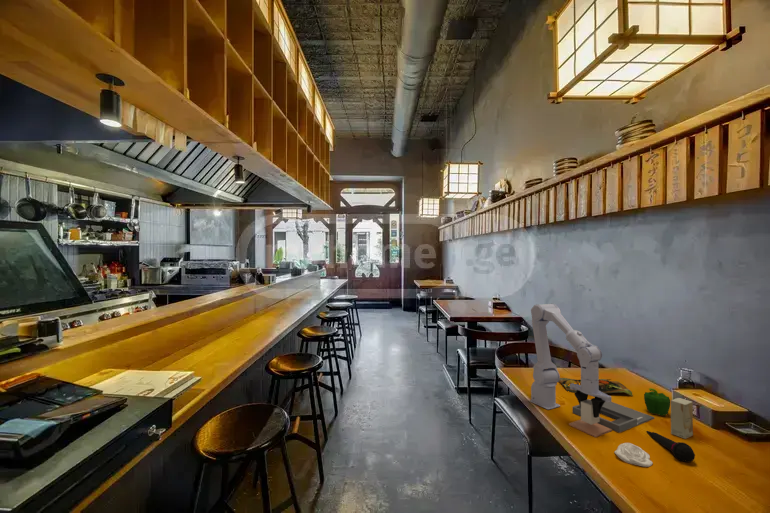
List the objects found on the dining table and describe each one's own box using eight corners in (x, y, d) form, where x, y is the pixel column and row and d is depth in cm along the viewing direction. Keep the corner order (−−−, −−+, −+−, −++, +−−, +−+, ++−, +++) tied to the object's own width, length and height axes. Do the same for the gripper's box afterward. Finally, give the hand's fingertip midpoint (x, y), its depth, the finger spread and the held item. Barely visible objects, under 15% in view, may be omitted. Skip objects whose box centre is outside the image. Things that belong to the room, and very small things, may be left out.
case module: (580, 420, 126) (580, 401, 127) (589, 417, 129) (588, 398, 129) (591, 424, 123) (591, 405, 123) (599, 421, 125) (599, 402, 125)
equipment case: (571, 413, 138) (571, 407, 138) (607, 401, 149) (607, 396, 149) (617, 433, 122) (617, 426, 122) (654, 418, 133) (654, 412, 133)
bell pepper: (671, 413, 138) (670, 388, 138) (670, 420, 132) (669, 394, 132) (645, 407, 144) (645, 383, 144) (643, 413, 138) (642, 389, 138)
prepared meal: (568, 385, 159) (556, 372, 177) (568, 393, 159) (556, 379, 177) (634, 392, 154) (615, 378, 172) (633, 399, 154) (614, 385, 172)
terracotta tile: (569, 425, 128) (569, 423, 128) (585, 419, 132) (585, 417, 132) (595, 437, 119) (595, 435, 119) (611, 430, 123) (611, 429, 123)
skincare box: (685, 439, 117) (685, 404, 118) (670, 434, 121) (670, 400, 121) (693, 435, 120) (693, 401, 121) (678, 429, 124) (678, 397, 124)
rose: (630, 435, 112) (660, 451, 103) (630, 448, 112) (660, 465, 103) (607, 439, 110) (636, 456, 100) (607, 453, 110) (636, 471, 100)
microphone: (643, 441, 122) (685, 468, 102) (636, 425, 123) (676, 448, 103) (658, 437, 122) (703, 463, 102) (651, 421, 123) (694, 444, 103)
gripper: (616, 382, 121) (616, 420, 121) (577, 371, 134) (578, 404, 134) (604, 386, 118) (605, 424, 118) (566, 373, 131) (566, 408, 131)
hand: (590, 414), depth 126 cm, fingers closed on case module, 4 cm apart
